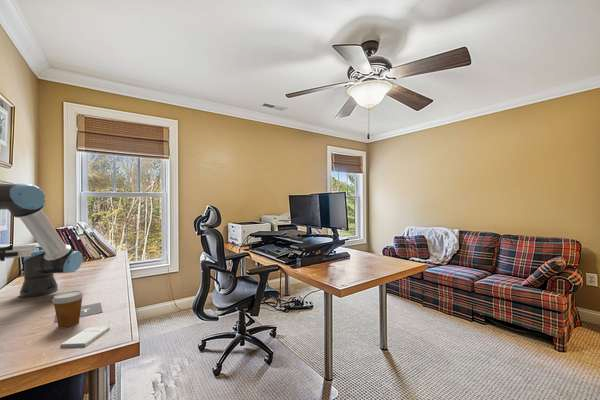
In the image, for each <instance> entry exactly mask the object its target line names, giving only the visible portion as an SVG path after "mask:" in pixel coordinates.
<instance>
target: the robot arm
mask: <svg viewBox="0 0 600 400" xmlns="http://www.w3.org/2000/svg"><path fill="white" fill-rule="evenodd" d="M45 202H46V195H45V193H44V191H43V190H42V189H41V187H39V186H38V185H35V184H31V183H9V184H7V183H5V184H3V183H0V210H8V212H9V213H10V214H11V215H12V217H14V218H18V219H20V221H22V223H23V225H25V227H26V229H27V230H28V231H29V233H30V234H31V235H32V237H33V238H34V240H35V241H36V242H37V244H38V245H39V246H40V248H41V249H39V250H36V249H37V248H36V247H37V246H36V245H37V244H28V245H26V244H25V245H24V244H23V245H14V244H9V246H0V262H4V261H6V259H14V258H16V259H17V258H23V279H24V280H23V282H22V285H21V288H20V290H19V297H20V298H32V297H39V296H44V295H48V294H49V295H50V294H51V293H54V292H56V291H58V290H59V285H58V283H57V281H56V279H55V276H54V275H55V274H71V273H75V272H77V271H78V270H79V269H80V268H81V267H82V264H83V260H84V259H83V253H82V252H81V251H80V250H79V251H78V250H74V249H73V248H72V246H71V245H70V244H66V243H65V242H64V241H63V238H62V237H61V235H59V233H58V231H57V230H56V228H55V227H54V225H53V224H52V222H51V221H50V219H49V218H48V216H47V214H46V213H45V212H44V210H43V209H44V208H45Z"/></svg>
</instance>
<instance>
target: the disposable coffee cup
mask: <svg viewBox="0 0 600 400" xmlns="http://www.w3.org/2000/svg"><path fill="white" fill-rule="evenodd" d="M84 295H85V294H84V293H83V291H82V290H72V291H65V292H60V293H57V294H55V295H54V296H53V299H51V301H52V302H53V306H54V310H55V315H56V317H57V322H56V323H57V327H58V328H59V329H66V328H71V327H74V326H76V325H78V324H79V323H80V318H81V317H80V311H81V306H82V302H83V297H85V296H84Z"/></svg>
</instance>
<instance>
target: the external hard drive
mask: <svg viewBox="0 0 600 400" xmlns="http://www.w3.org/2000/svg"><path fill="white" fill-rule="evenodd" d="M110 329H111V328H110V326H91V327H90V326H89V327H87V328H85V329H84V330H82V331H79V332H78V333H77V334H75V335H74V336H72V337H71V338H68V339H67V340H66V341H63V343H61V344H60V346H59V347H60V348H85V347H87V346H88V345H91V343H93V342H94V341H95V340H97V339H99V337H101V336H102V335H104V334H105V333H107V332H108V331H109V330H110Z"/></svg>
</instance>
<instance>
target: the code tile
mask: <svg viewBox="0 0 600 400" xmlns="http://www.w3.org/2000/svg"><path fill="white" fill-rule="evenodd" d="M102 313H103V308H102V303H101V302H97V303H91V304H87V305H81V311H80V318H82V317H83V316H84V317H87V316H92V315H97V314H102ZM56 323H58V322H57V317H56V314H55V315H54V320H53V324H56Z"/></svg>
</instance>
